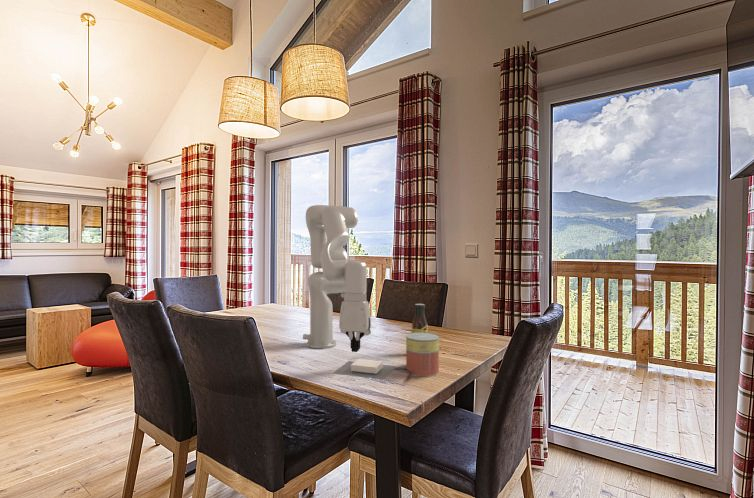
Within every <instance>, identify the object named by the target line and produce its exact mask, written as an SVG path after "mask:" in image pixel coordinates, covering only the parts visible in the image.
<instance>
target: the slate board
mask: <svg viewBox="0 0 754 498" xmlns="http://www.w3.org/2000/svg"><path fill="white" fill-rule="evenodd" d="M354 362H355V361H354V360H353V361H352V360H351V361H350V360H348V361H347V362H345V363H344V364H342V365H341V366H340V367H339V368H338V369H336V370H335V371H333V372H332V374H333V375H342V376H352V377H359V378H367V379H376V380H384V381H385V380H386V379H387V378H388V376H389V375H390V374H392V372H393V371H394V370H395V369H396V367H397V365H389V364H383V368H382V369H381V370H380V371H379V372H378V373H377V374H372V373H363V372H354V371H351V364H353V363H354Z"/></svg>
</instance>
